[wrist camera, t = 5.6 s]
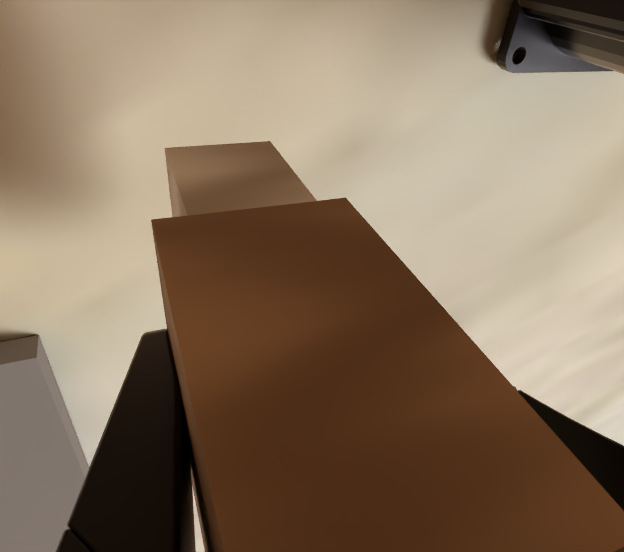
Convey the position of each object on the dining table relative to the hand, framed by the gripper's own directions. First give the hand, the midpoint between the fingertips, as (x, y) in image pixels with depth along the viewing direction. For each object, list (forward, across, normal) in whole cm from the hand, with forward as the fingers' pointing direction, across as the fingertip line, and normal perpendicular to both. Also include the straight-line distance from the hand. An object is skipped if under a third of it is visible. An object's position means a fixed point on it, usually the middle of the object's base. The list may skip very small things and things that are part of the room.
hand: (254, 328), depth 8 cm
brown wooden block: (+2, 0, 0) cm, 2 cm away
